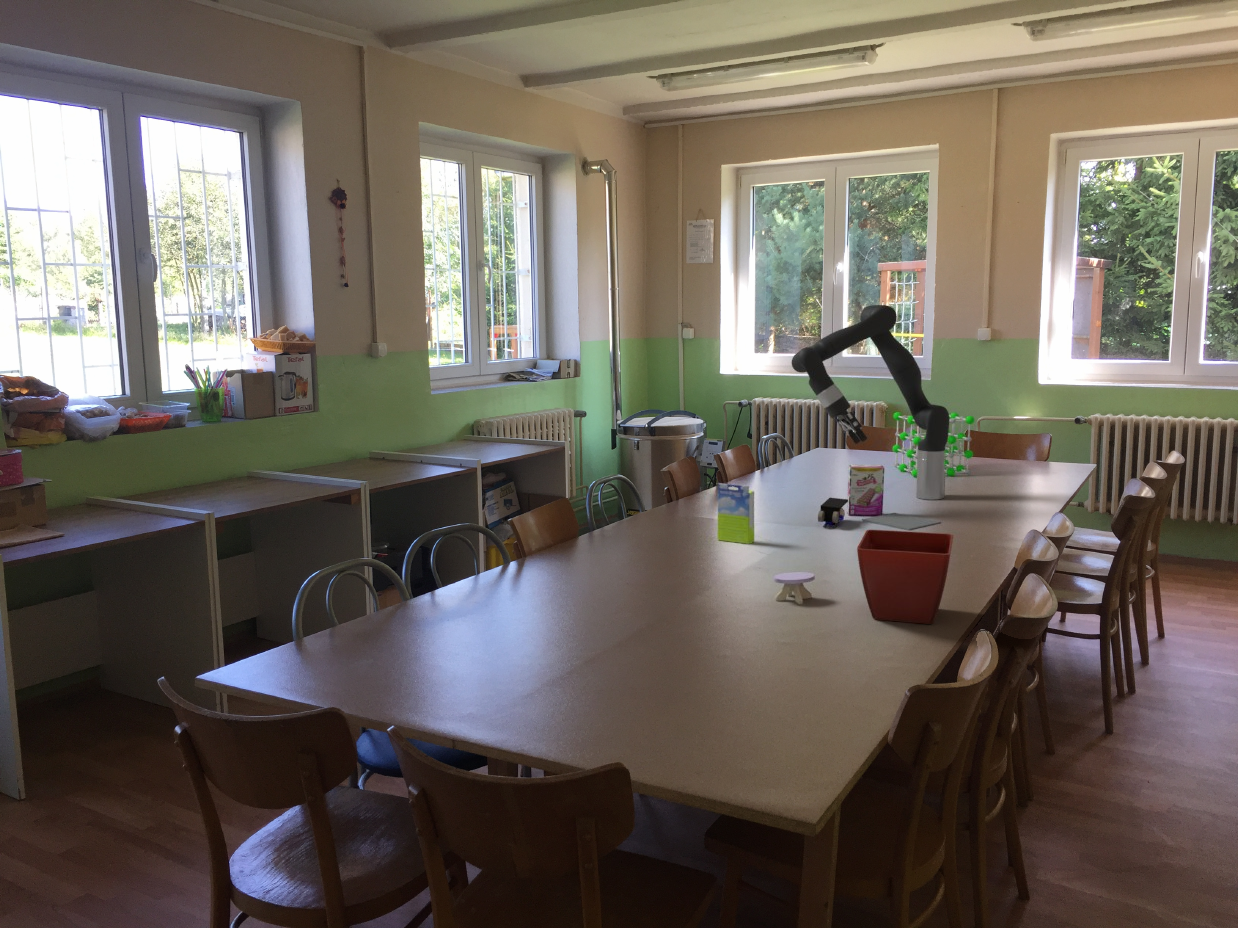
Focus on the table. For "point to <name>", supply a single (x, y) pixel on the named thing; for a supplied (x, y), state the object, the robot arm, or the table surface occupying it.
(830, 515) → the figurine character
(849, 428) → the robot arm
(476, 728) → the table surface
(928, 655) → the table surface
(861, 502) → the candy bar box
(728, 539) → the box
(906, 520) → the mat
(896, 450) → the molecular structure model
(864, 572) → the plant pot
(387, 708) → the table surface
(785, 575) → the toy table
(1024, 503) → the table surface
